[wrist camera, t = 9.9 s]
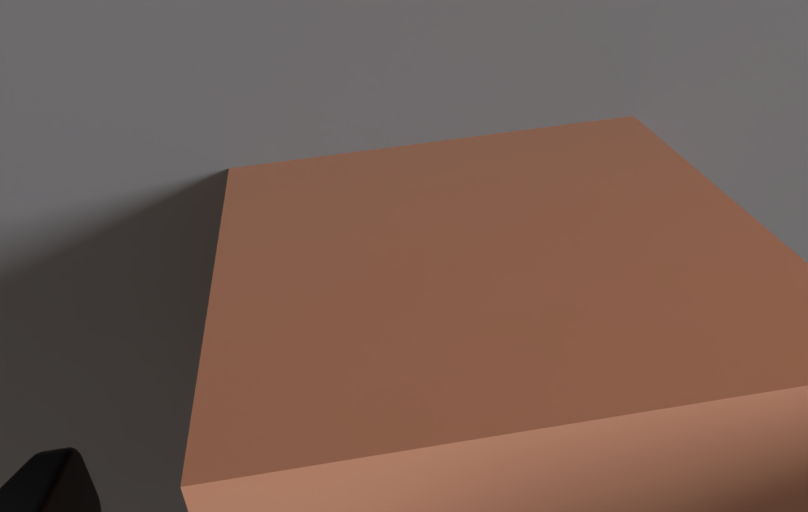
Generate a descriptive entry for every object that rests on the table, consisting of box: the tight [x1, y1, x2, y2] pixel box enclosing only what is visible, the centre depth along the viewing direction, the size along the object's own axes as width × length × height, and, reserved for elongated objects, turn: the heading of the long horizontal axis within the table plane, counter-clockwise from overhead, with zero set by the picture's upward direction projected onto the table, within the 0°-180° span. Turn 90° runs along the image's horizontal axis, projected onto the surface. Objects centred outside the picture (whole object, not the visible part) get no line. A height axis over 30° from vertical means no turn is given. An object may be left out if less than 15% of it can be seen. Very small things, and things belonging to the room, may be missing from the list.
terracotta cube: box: [180, 116, 808, 512], centre depth 8 cm, size 5×5×5 cm
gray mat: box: [0, 0, 808, 512], centre depth 11 cm, size 16×16×1 cm
